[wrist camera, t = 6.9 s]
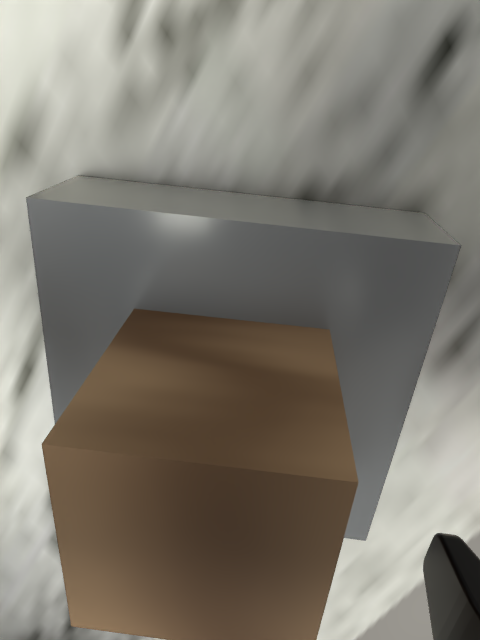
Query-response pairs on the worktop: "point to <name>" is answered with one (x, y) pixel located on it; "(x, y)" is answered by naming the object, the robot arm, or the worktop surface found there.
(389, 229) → the slate slab
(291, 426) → the walnut cube
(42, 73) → the worktop surface
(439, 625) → the robot arm
